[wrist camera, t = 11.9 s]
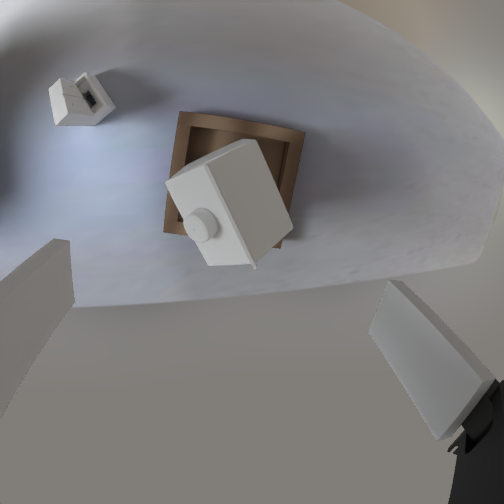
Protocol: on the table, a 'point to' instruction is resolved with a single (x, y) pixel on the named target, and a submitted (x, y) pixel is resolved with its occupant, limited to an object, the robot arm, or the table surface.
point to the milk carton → (230, 204)
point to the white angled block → (79, 101)
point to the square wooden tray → (222, 134)
